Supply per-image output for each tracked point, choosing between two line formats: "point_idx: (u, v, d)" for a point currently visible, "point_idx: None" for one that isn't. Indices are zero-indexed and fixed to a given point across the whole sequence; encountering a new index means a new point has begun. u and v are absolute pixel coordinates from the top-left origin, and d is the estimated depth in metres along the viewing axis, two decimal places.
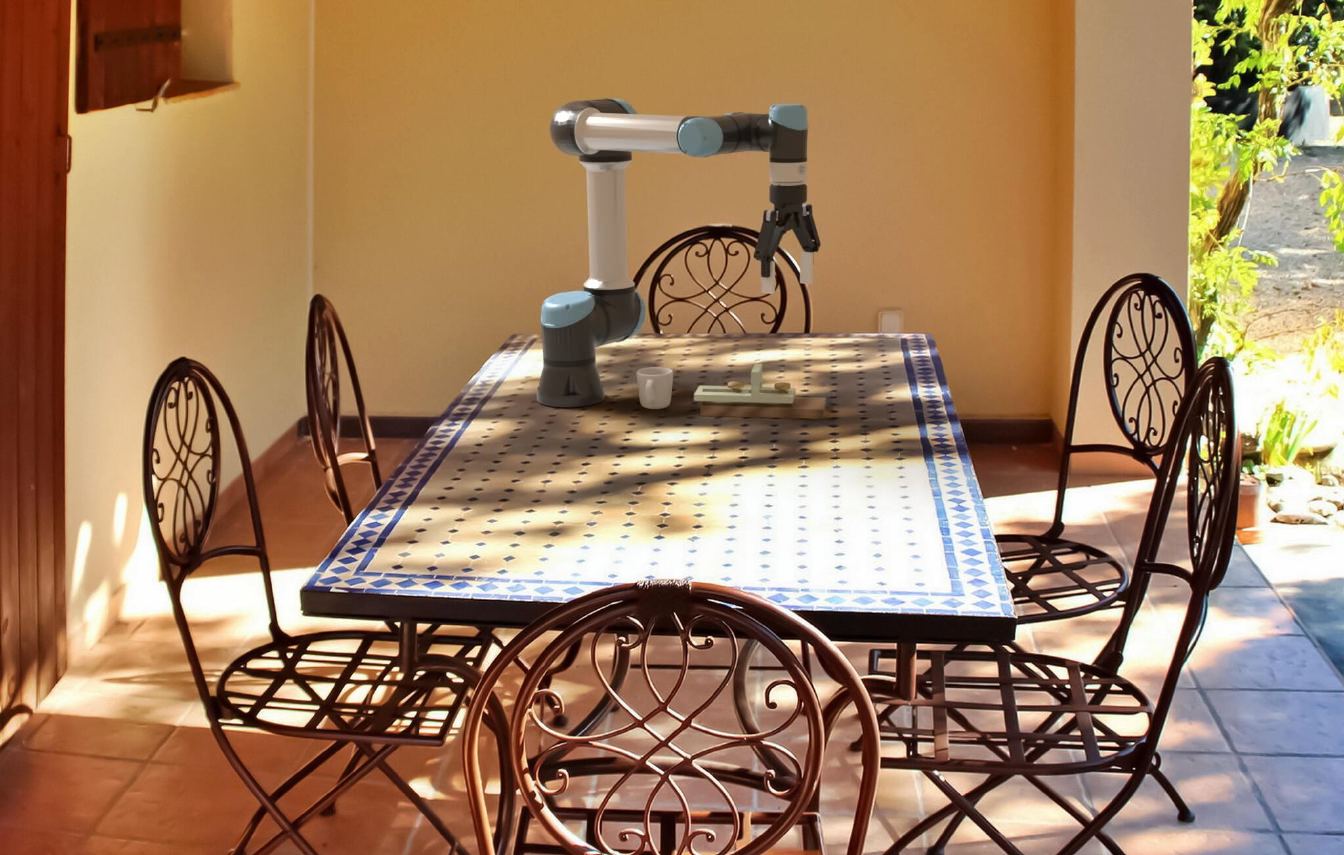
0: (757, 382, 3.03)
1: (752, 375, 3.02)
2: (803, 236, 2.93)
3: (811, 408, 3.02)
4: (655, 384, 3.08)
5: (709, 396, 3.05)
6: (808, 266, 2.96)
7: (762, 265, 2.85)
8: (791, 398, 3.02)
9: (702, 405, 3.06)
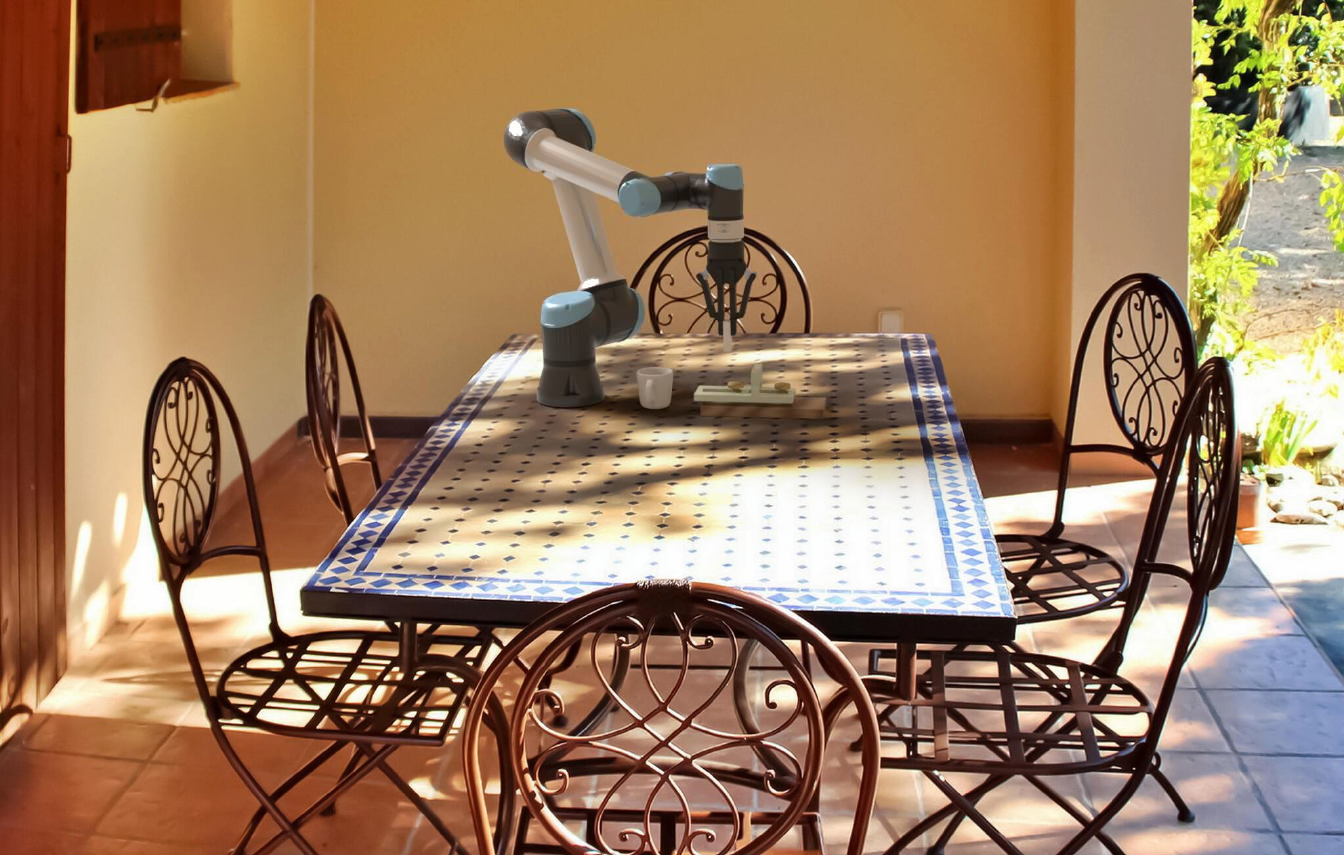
0: (757, 382, 3.03)
1: (752, 375, 3.02)
2: (729, 296, 3.02)
3: (811, 408, 3.02)
4: (655, 384, 3.08)
5: (709, 396, 3.05)
6: None
7: None
8: (791, 398, 3.02)
9: (702, 405, 3.06)
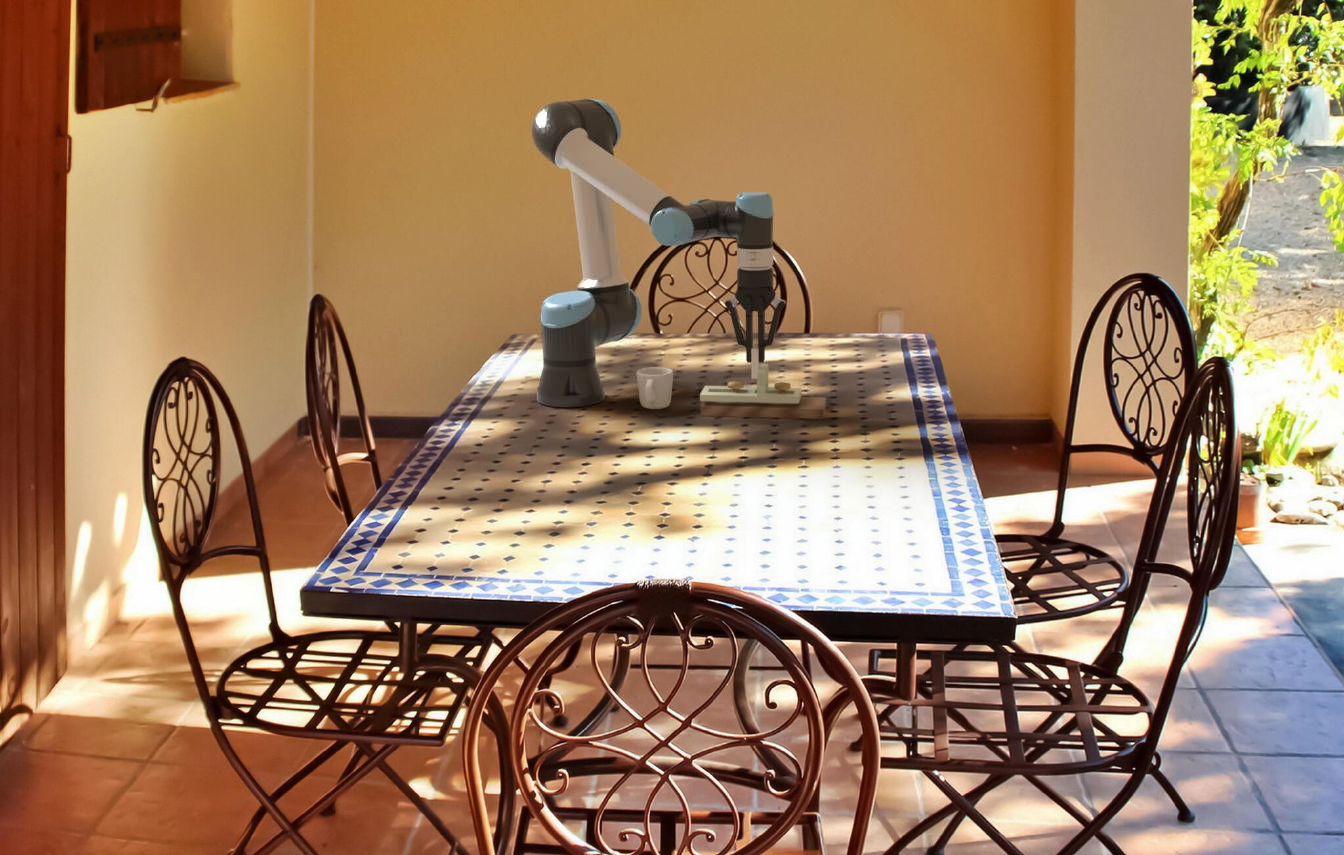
0: (763, 382, 3.03)
1: (758, 375, 3.02)
2: (758, 324, 3.03)
3: (811, 408, 3.02)
4: (655, 384, 3.08)
5: (715, 396, 3.05)
6: None
7: None
8: (797, 398, 3.02)
9: (702, 405, 3.06)
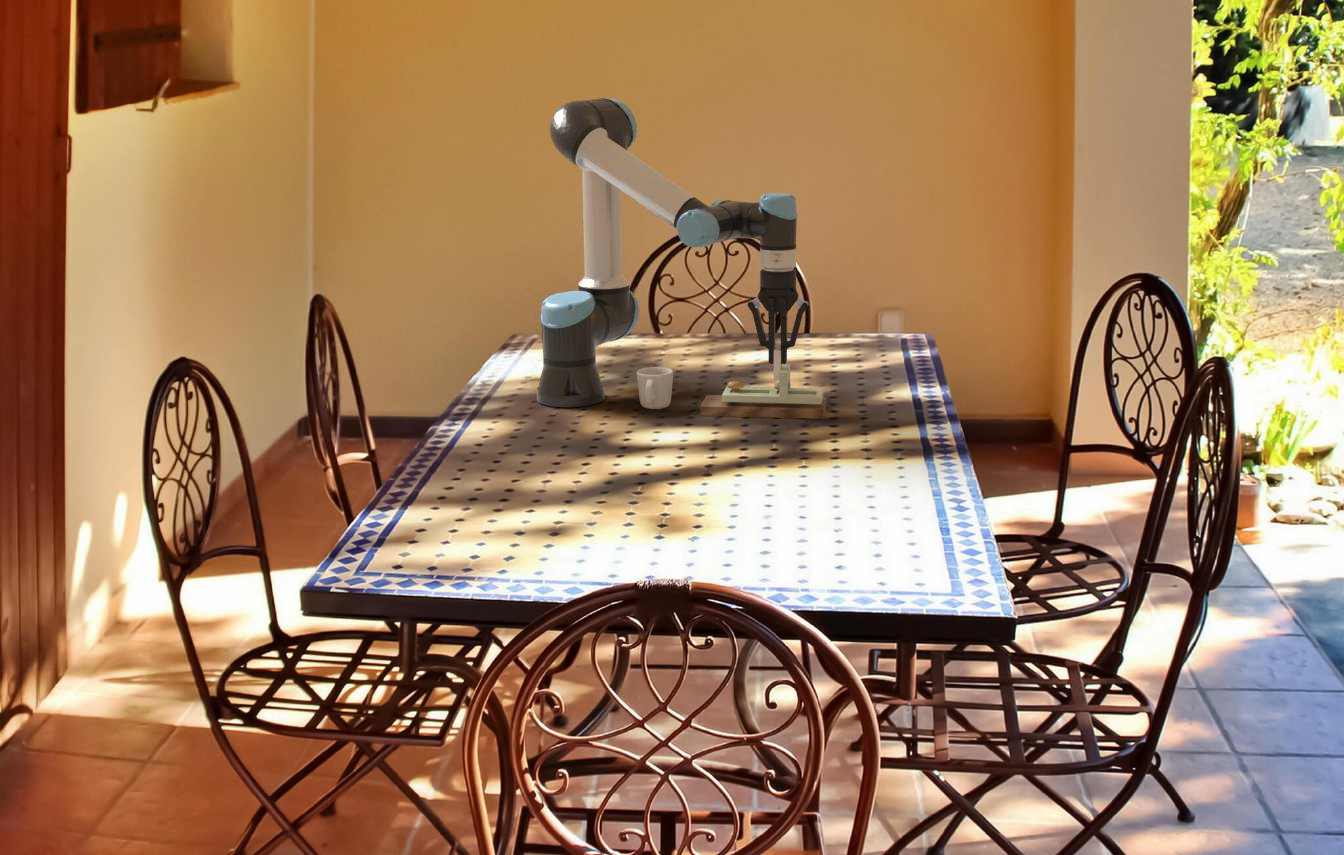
0: (785, 383, 3.02)
1: (781, 376, 3.02)
2: None
3: (811, 408, 3.02)
4: (655, 384, 3.08)
5: (737, 397, 3.04)
6: None
7: None
8: (820, 399, 3.02)
9: (702, 405, 3.06)
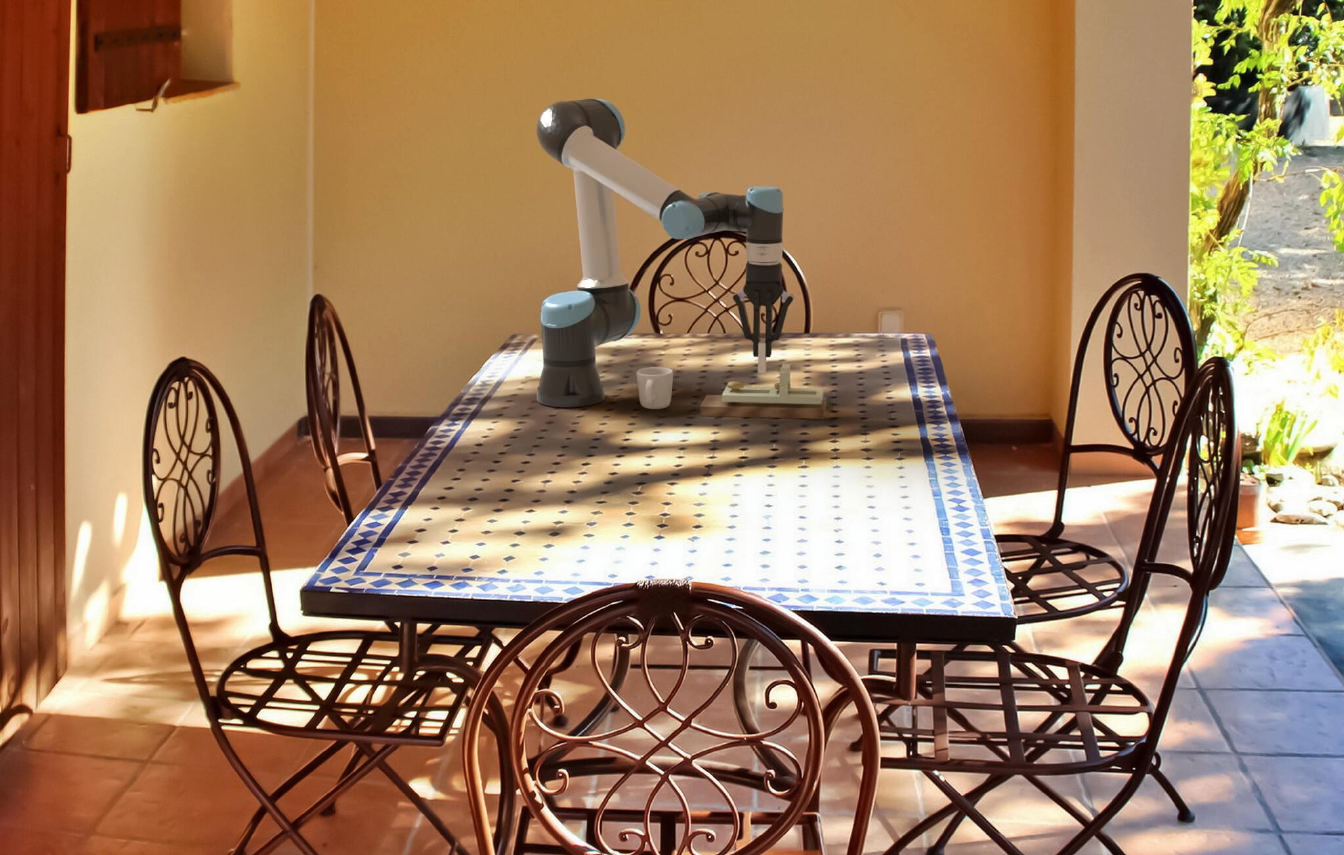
0: (785, 383, 3.02)
1: (781, 376, 3.02)
2: None
3: (811, 408, 3.02)
4: (655, 384, 3.08)
5: (737, 397, 3.04)
6: None
7: None
8: (820, 399, 3.02)
9: (702, 405, 3.06)
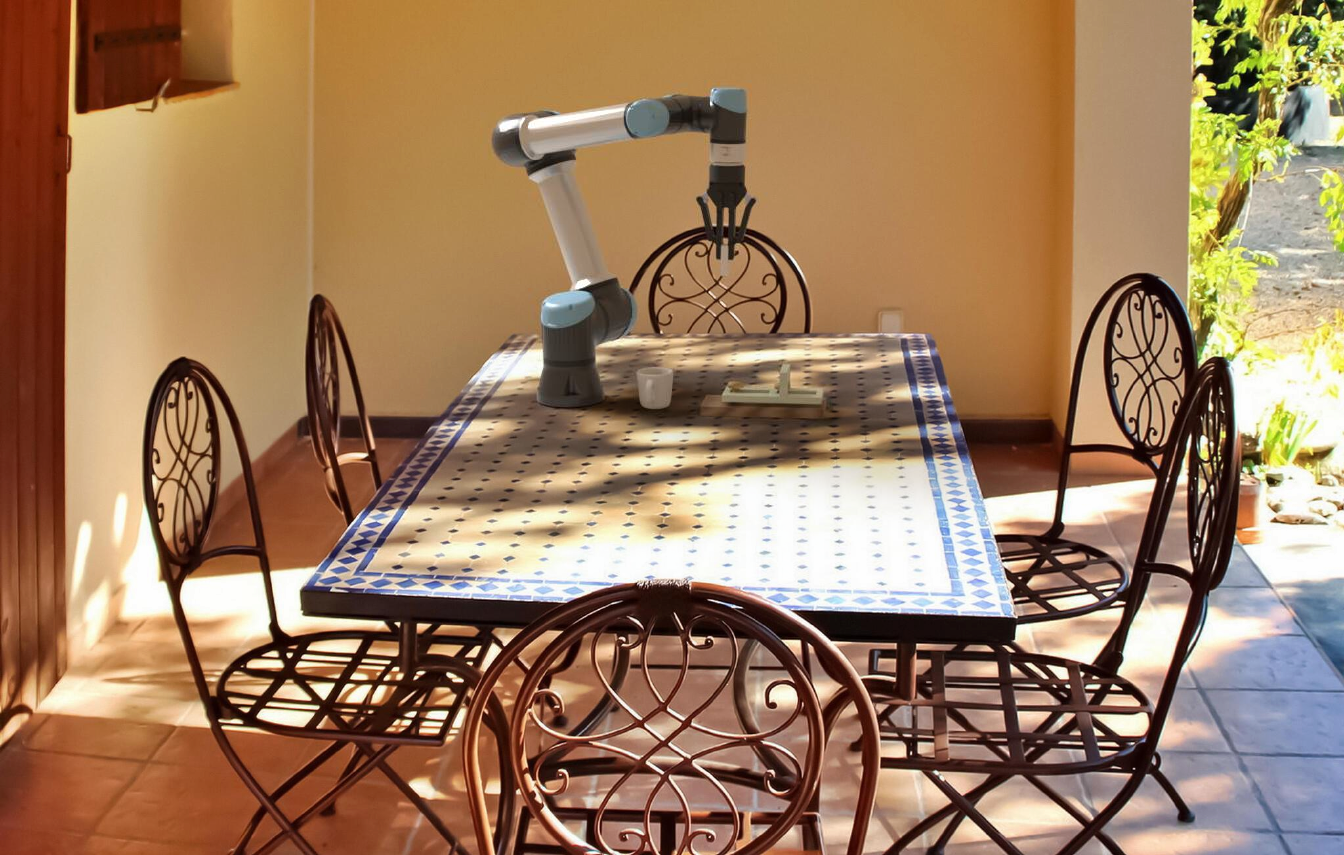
0: (785, 383, 3.02)
1: (781, 376, 3.02)
2: (728, 221, 3.03)
3: (811, 408, 3.02)
4: (655, 384, 3.08)
5: (737, 397, 3.04)
6: None
7: None
8: (820, 399, 3.02)
9: (702, 405, 3.06)
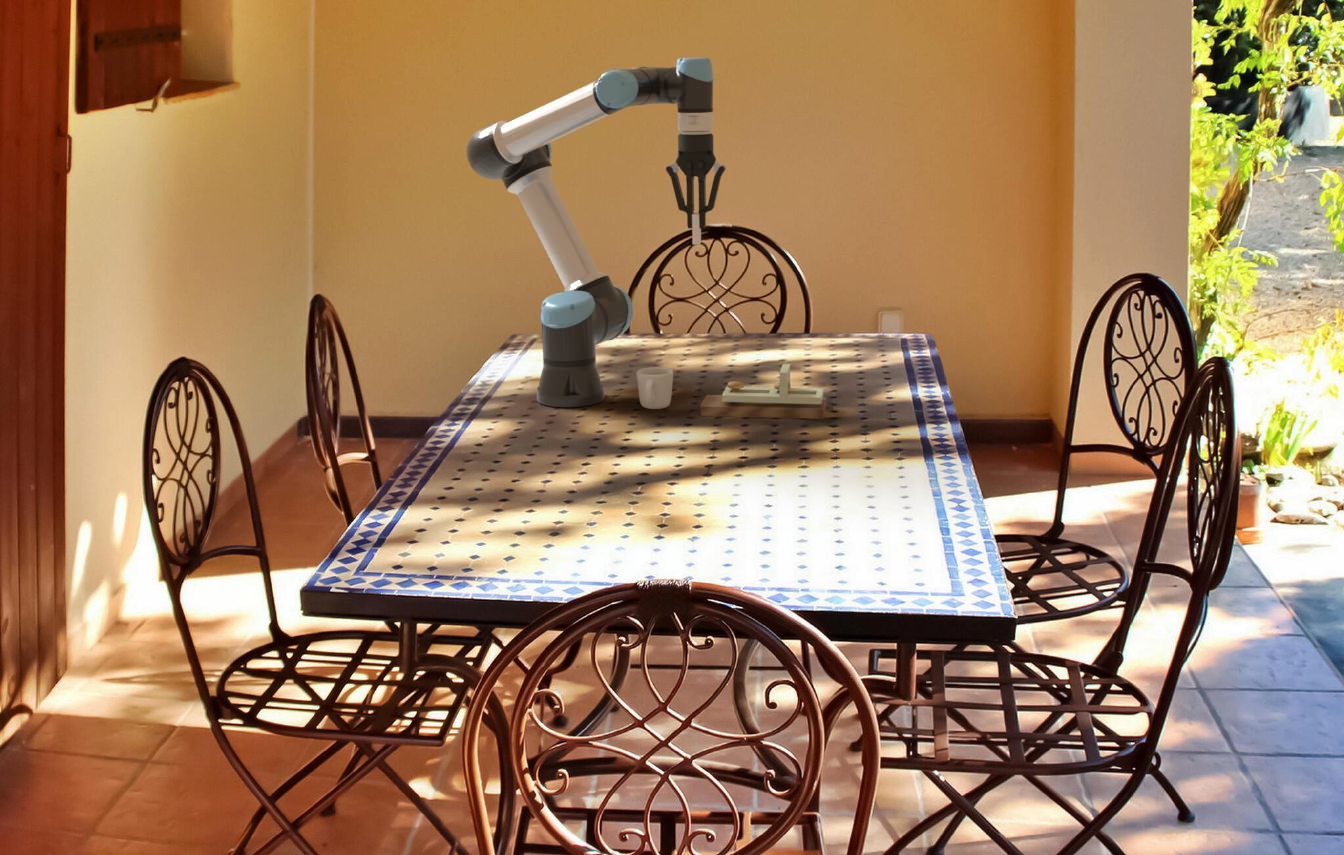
0: (785, 383, 3.02)
1: (781, 376, 3.02)
2: None
3: (811, 408, 3.02)
4: (655, 384, 3.08)
5: (737, 397, 3.04)
6: None
7: None
8: (820, 399, 3.02)
9: (702, 405, 3.06)
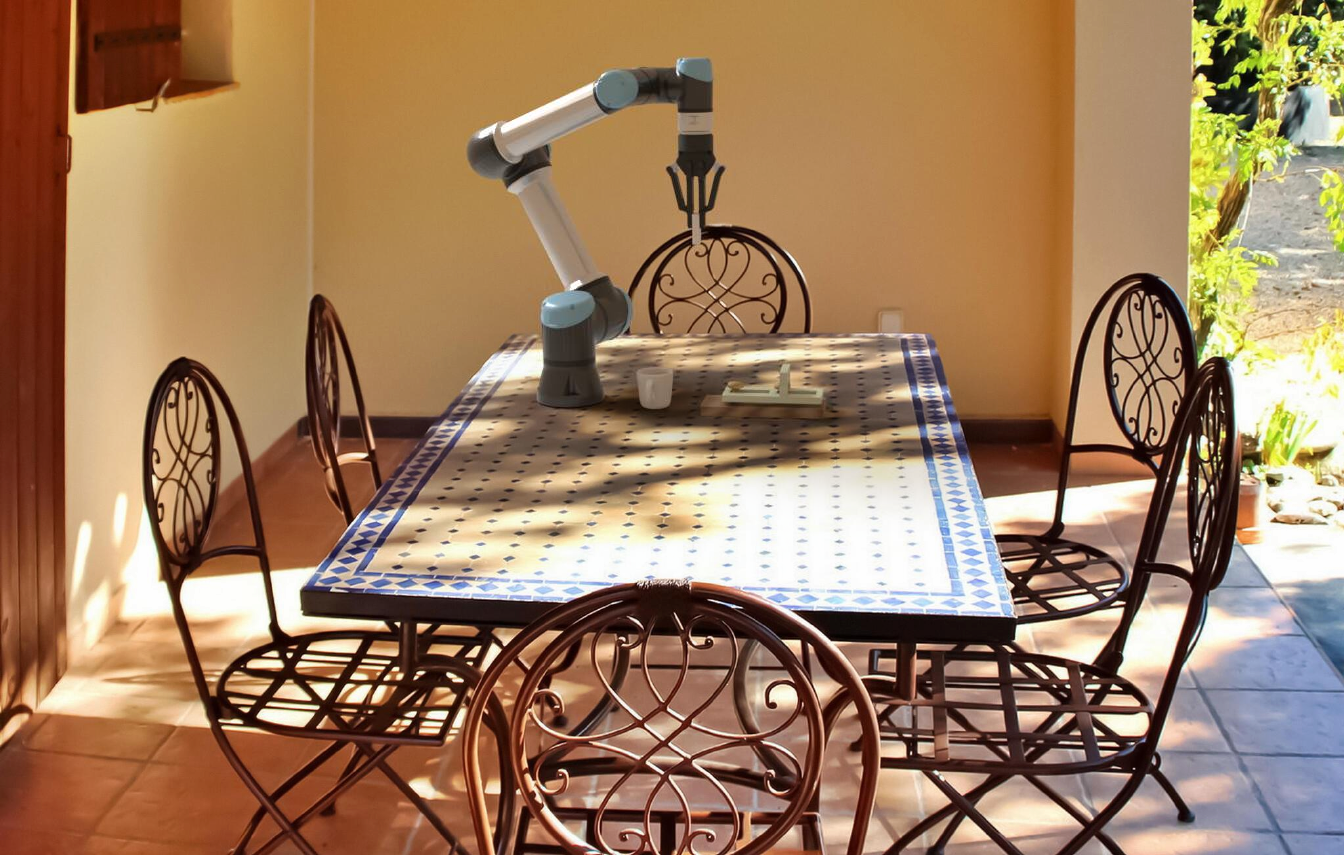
0: (785, 383, 3.02)
1: (781, 376, 3.02)
2: None
3: (811, 408, 3.02)
4: (655, 384, 3.08)
5: (737, 397, 3.04)
6: None
7: None
8: (820, 399, 3.02)
9: (702, 405, 3.06)
